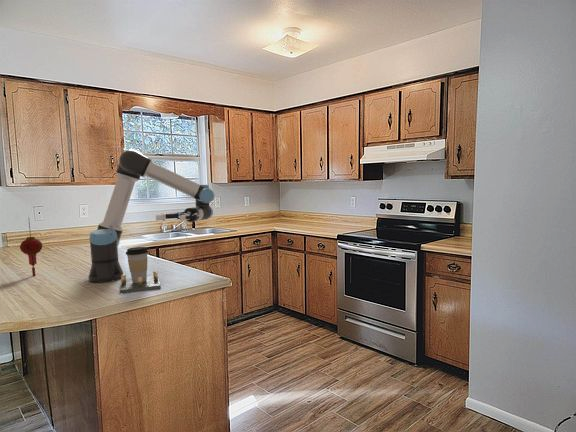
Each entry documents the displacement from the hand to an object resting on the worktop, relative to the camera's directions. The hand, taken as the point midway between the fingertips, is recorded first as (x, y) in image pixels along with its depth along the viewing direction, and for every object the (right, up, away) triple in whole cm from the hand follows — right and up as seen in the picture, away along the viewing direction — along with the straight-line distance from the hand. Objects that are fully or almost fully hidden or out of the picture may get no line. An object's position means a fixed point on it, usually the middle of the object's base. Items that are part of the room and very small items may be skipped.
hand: (168, 218), depth 181 cm
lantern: (-72, -30, +12) cm, 79 cm away
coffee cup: (-10, -29, -11) cm, 32 cm away
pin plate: (-9, -30, -12) cm, 34 cm away
